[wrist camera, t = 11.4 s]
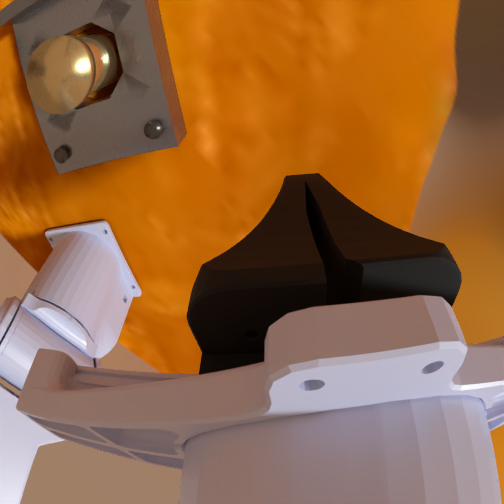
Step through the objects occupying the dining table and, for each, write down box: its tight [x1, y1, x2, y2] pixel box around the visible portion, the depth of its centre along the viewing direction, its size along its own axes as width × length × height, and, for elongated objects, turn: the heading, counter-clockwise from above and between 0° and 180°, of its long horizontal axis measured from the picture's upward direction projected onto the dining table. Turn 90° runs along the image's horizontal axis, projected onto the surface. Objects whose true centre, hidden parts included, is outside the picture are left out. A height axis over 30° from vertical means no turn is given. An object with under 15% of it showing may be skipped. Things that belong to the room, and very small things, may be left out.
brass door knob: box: [26, 33, 124, 114], centre depth 14 cm, size 5×5×6 cm
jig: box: [0, 0, 187, 174], centre depth 15 cm, size 14×10×4 cm
